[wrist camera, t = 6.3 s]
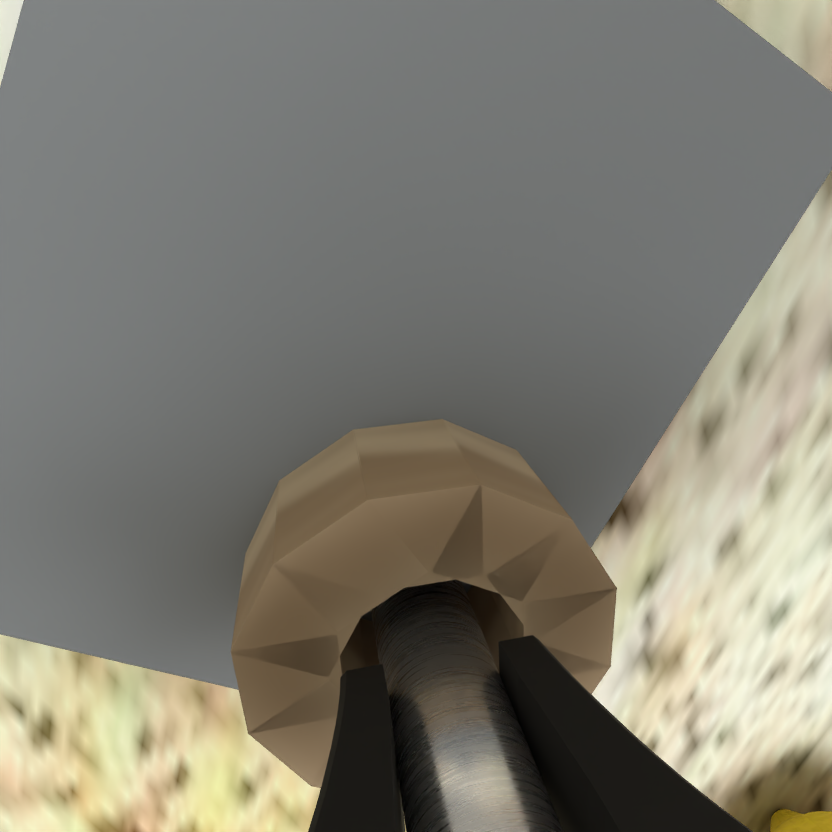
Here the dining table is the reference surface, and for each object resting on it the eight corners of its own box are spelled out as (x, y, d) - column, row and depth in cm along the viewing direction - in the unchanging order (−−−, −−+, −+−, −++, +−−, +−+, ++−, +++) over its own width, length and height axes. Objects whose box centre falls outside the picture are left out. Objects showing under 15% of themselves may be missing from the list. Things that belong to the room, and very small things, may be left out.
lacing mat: (839, 120, 13) (864, 117, 12) (461, 724, 17) (466, 742, 16) (155, -405, 8) (145, -446, 8) (-121, 583, 13) (-140, 601, 12)
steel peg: (466, 560, 12) (713, 1123, 5) (468, 640, 13) (689, 1235, 6) (367, 576, 12) (471, 1198, 5) (376, 656, 13) (479, 1307, 5)
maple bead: (608, 487, 14) (682, 562, 11) (468, 711, 16) (503, 822, 13) (329, 371, 12) (337, 428, 9) (203, 644, 14) (178, 761, 11)
